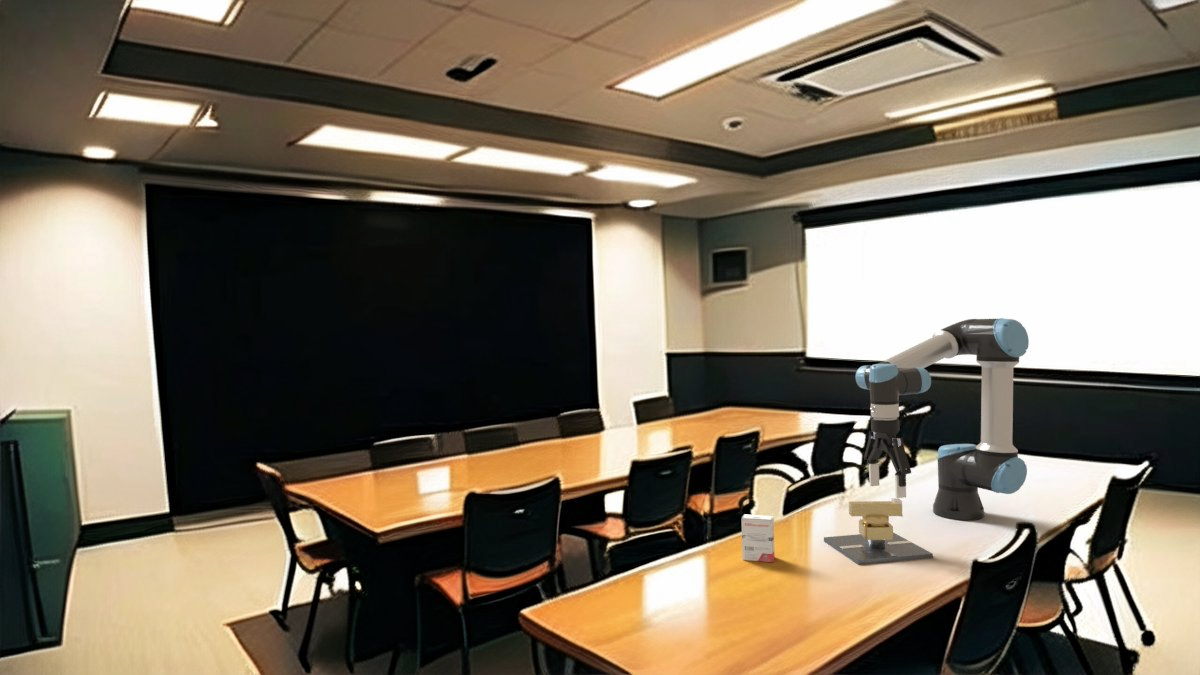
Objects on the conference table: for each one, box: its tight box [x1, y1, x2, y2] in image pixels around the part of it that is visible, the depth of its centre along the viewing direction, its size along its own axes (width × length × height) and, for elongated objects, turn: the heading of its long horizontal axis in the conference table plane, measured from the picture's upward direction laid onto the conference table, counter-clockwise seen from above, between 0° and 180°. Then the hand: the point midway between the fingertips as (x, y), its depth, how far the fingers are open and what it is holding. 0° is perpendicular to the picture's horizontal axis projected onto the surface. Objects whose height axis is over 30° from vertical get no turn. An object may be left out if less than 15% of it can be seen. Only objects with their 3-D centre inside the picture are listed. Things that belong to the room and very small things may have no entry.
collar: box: [848, 498, 903, 540], centre depth 199 cm, size 8×14×10 cm, turn 85°
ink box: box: [741, 513, 775, 563], centre depth 195 cm, size 9×5×12 cm, turn 71°
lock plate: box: [823, 526, 934, 566], centre depth 199 cm, size 22×20×7 cm
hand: (887, 491), depth 200 cm, fingers open, 13 cm apart
